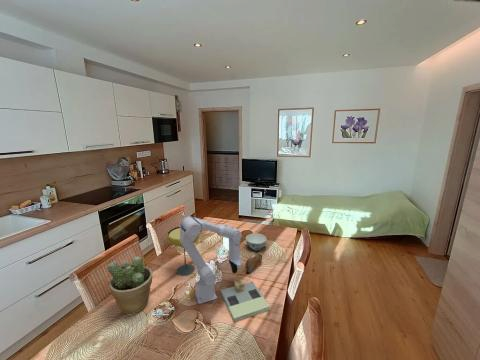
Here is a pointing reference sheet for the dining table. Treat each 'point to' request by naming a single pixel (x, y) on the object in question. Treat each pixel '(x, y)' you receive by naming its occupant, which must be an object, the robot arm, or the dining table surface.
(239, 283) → the beech block
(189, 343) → the dining table surface
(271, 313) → the dining table surface
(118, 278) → the potted plant
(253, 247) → the chinaware
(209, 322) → the dining table surface
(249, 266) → the brown flat slab
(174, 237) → the cocktail glass
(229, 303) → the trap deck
